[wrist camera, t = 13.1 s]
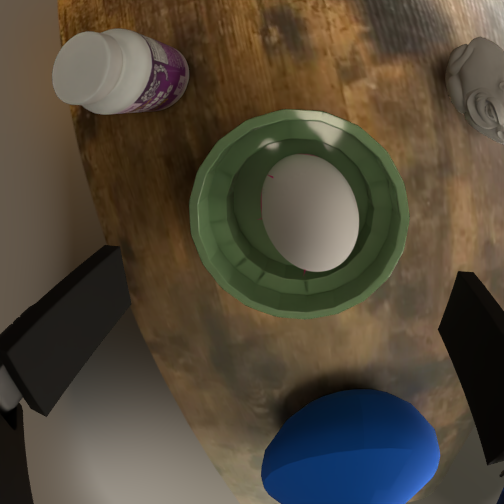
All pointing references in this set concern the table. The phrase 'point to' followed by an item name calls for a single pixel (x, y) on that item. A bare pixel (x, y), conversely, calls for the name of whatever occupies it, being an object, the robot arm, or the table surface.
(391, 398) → the vase
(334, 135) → the green bowl
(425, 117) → the table surface
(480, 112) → the frog figurine
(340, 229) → the stress ball
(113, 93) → the pill bottle
